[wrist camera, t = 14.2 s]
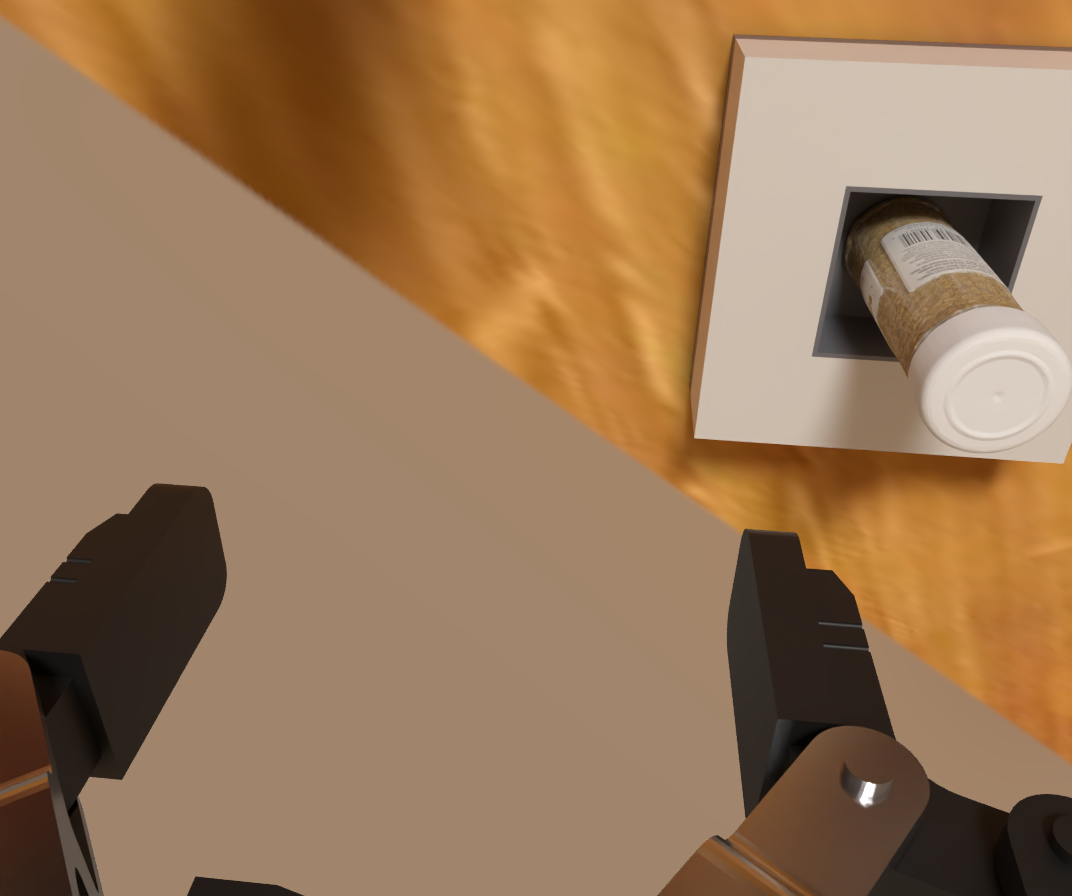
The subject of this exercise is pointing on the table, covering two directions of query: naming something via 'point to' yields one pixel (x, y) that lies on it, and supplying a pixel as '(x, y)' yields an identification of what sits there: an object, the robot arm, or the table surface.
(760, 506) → the table surface
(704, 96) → the table surface
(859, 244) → the sprinkles bottle
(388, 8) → the table surface
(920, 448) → the socket block
